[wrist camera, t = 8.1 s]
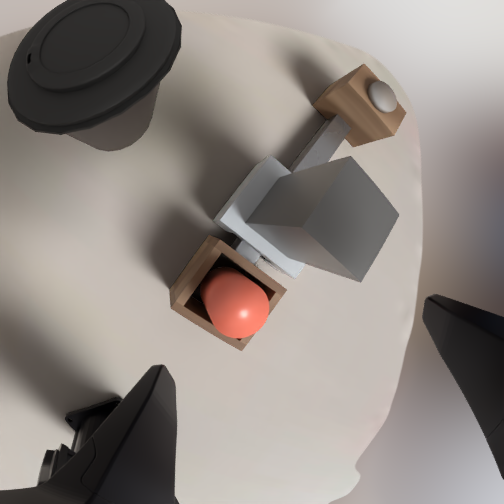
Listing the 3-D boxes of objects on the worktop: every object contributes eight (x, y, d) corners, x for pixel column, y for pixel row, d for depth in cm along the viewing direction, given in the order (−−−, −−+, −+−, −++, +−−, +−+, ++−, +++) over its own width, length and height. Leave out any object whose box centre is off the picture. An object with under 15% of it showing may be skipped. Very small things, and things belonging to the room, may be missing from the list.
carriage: (277, 270, 20) (367, 312, 11) (211, 219, 18) (261, 222, 9) (314, 216, 21) (418, 220, 11) (255, 163, 19) (337, 120, 9)
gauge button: (228, 321, 18) (246, 347, 14) (190, 296, 17) (198, 319, 13) (256, 284, 18) (280, 301, 14) (218, 257, 17) (234, 268, 13)
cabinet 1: (353, 147, 21) (400, 133, 16) (312, 105, 20) (353, 79, 14) (367, 126, 21) (411, 111, 16) (329, 86, 20) (369, 60, 15)
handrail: (245, 263, 20) (252, 267, 18) (227, 250, 19) (232, 253, 18) (340, 132, 21) (351, 128, 19) (326, 119, 20) (337, 113, 19)
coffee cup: (44, 129, 14) (-28, 73, 4) (121, 51, 15) (109, -42, 5) (115, 195, 16) (63, 171, 7) (196, 108, 17) (229, 20, 8)
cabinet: (226, 327, 20) (241, 351, 16) (169, 289, 18) (170, 308, 14) (264, 276, 20) (287, 289, 16) (208, 234, 19) (220, 239, 15)
